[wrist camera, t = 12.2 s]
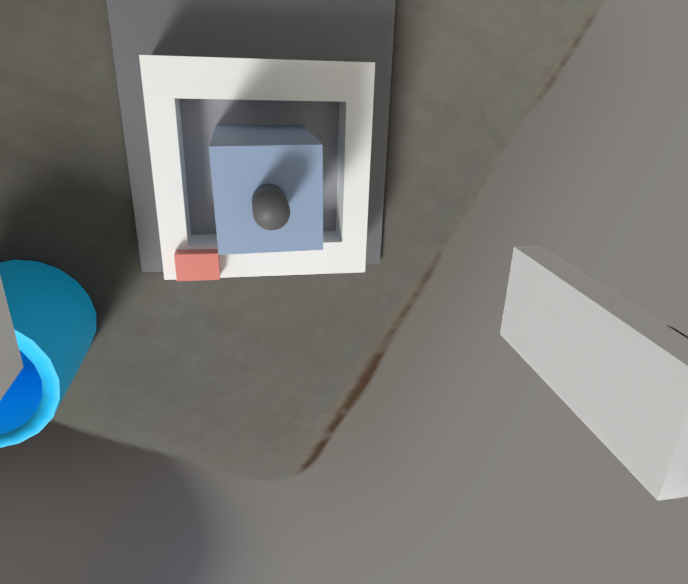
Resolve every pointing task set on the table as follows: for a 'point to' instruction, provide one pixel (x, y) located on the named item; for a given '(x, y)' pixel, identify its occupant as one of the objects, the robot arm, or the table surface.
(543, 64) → the table surface
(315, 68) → the socket
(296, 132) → the plug
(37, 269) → the mug
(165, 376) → the table surface
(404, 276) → the table surface
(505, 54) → the table surface
